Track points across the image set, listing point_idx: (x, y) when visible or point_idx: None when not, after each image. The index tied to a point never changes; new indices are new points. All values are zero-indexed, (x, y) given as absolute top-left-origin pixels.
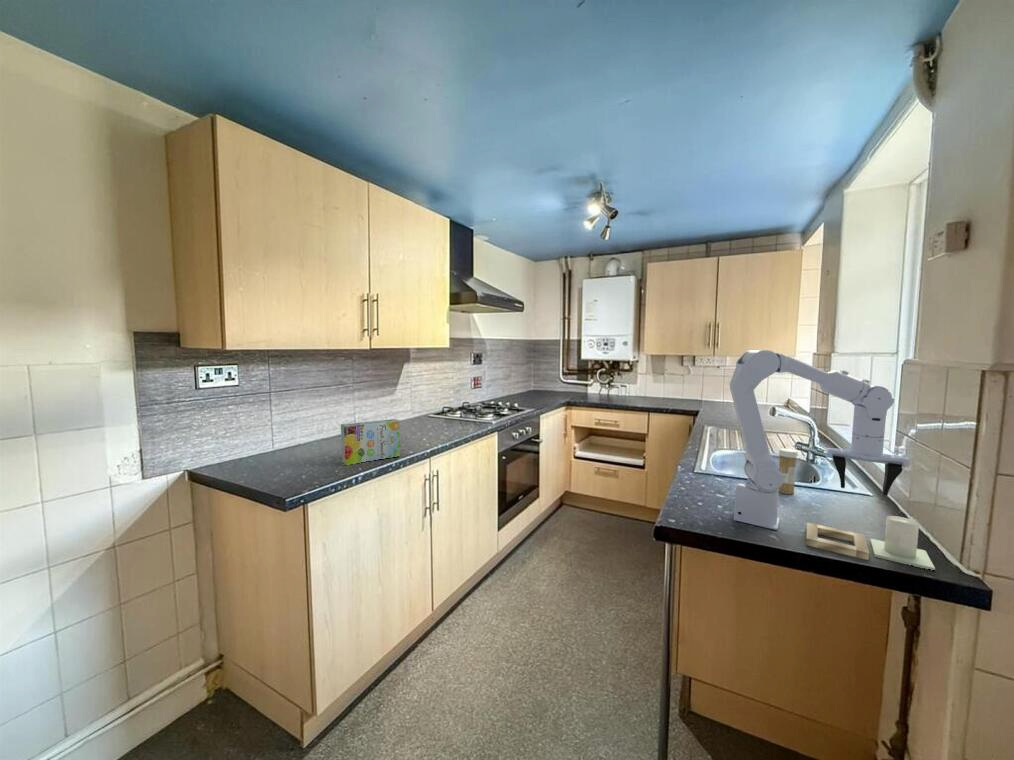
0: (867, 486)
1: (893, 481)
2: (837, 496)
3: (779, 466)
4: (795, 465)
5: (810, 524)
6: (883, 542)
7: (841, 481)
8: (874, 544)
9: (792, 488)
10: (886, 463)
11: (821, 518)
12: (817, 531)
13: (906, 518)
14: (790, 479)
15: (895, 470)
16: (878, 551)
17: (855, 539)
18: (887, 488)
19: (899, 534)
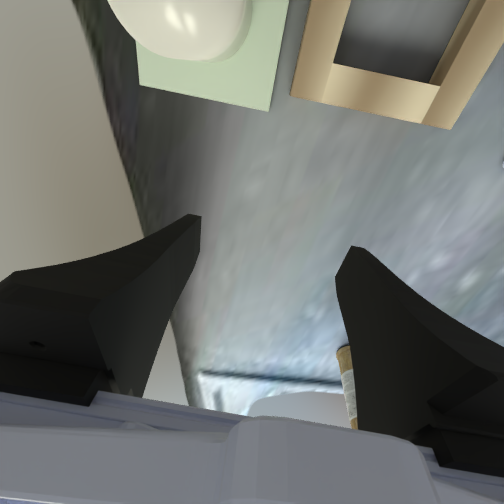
0: (198, 398)
1: (127, 246)
2: (255, 357)
3: None
4: (355, 423)
5: (452, 108)
6: (239, 91)
7: (383, 264)
8: (272, 50)
9: (346, 358)
10: (109, 397)
11: (340, 235)
12: (473, 24)
13: (144, 42)
14: None
15: (43, 286)
16: None
17: (346, 3)
18: (176, 225)
19: None
